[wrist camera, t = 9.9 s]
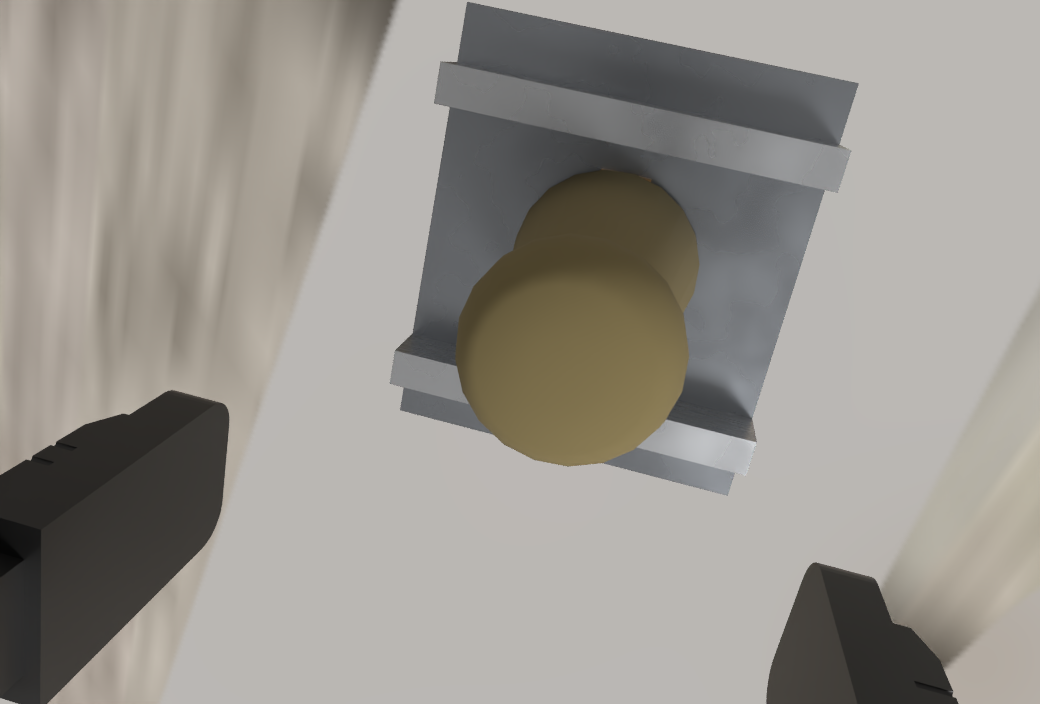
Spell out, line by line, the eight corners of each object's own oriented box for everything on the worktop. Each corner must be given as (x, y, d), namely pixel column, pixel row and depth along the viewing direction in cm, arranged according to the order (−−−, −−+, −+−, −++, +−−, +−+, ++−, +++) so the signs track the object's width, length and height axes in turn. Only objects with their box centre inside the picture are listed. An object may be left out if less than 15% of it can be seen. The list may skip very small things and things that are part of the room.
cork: (547, 373, 30) (476, 535, 19) (487, 204, 28) (376, 282, 18) (722, 323, 28) (747, 471, 18) (667, 142, 27) (659, 188, 16)
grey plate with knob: (493, 10, 30) (450, -4, 25) (836, 81, 29) (872, 84, 23) (430, 373, 35) (382, 431, 29) (722, 448, 34) (730, 523, 28)
